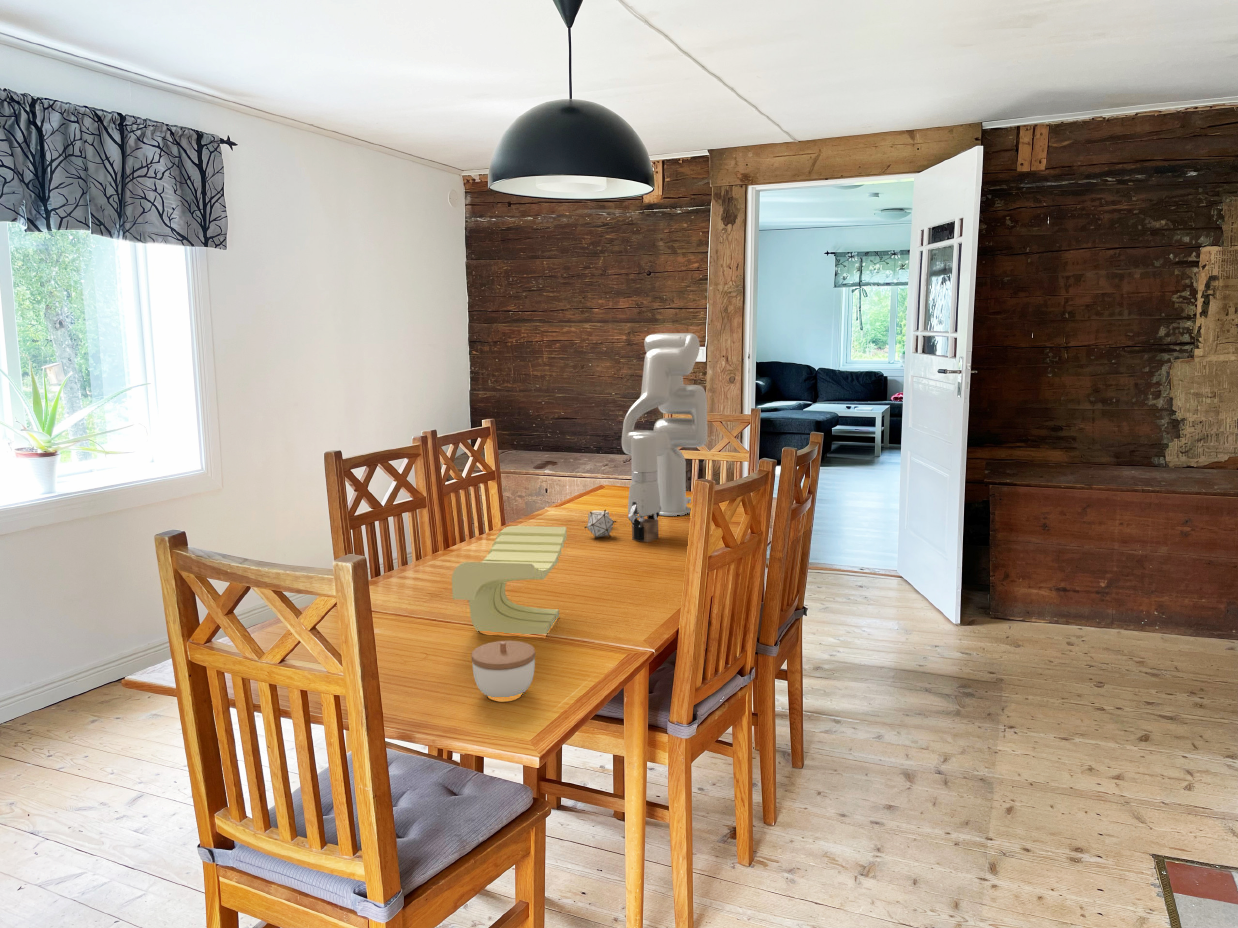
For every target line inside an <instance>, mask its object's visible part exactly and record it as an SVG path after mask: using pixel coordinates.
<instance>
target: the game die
mask: <svg viewBox="0 0 1238 928" xmlns="http://www.w3.org/2000/svg"><path fill="white" fill-rule="evenodd" d="M603 511H604V512H600V513H592V511H589V513H590V514H591V516H590V519H589V522H588V521H587V522H588V523H587V525H586V526H584V529H589V532H590V533H591V535H593V536H594V540H597V538H601V537H606V536H607V537H609V538H612V536H611V535H610V534H611V531H612V529H613V527H614V524H615V523H617V522H618V521H617V520H614V519H612V518H611V517H610V515H609V516H608V515H607V514H606V513H605V512H606V511H607V509H604V510H603Z"/></svg>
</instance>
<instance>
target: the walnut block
mask: <svg viewBox="0 0 1238 928" xmlns="http://www.w3.org/2000/svg"><path fill="white" fill-rule="evenodd" d="M637 520H638V521H639V520H640V518H637ZM642 527H644V540H643V541H640V540H635V539H634V526H633V525H632V524H631V539H632V540H633V541H637V542H643V543H650V542H652V540H653V541H655V539H656V540H659V520H653V519H647V517H644V520H643V525H642Z"/></svg>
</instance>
